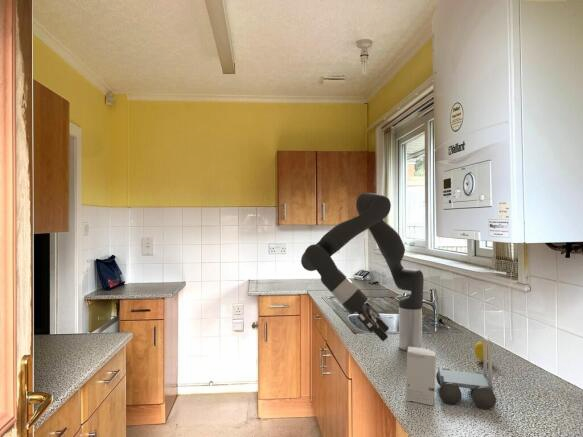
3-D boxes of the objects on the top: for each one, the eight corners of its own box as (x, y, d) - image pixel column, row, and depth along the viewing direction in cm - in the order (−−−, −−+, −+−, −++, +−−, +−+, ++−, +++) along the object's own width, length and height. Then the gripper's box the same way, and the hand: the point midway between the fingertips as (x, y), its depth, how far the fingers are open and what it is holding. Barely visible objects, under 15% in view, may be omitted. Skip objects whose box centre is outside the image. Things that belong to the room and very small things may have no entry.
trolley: (436, 385, 122) (436, 329, 121) (487, 391, 117) (486, 333, 117) (439, 403, 110) (439, 341, 110) (496, 410, 106) (496, 345, 105)
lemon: (482, 365, 138) (482, 344, 138) (471, 360, 143) (471, 339, 143) (494, 363, 139) (494, 342, 139) (483, 358, 144) (483, 338, 144)
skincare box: (405, 401, 111) (405, 351, 111) (407, 392, 117) (407, 345, 117) (435, 406, 108) (435, 355, 108) (435, 397, 114) (435, 348, 114)
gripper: (354, 292, 111) (394, 333, 107) (360, 283, 124) (395, 320, 121) (337, 308, 112) (376, 350, 109) (344, 298, 126) (378, 335, 123)
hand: (386, 334), depth 115 cm, fingers open, 8 cm apart
